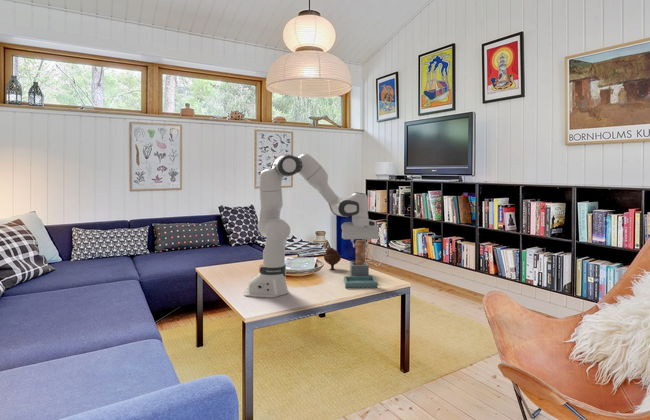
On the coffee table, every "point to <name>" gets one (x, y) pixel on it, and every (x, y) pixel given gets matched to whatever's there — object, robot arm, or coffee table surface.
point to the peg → (360, 252)
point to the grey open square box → (359, 269)
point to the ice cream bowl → (332, 257)
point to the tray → (360, 282)
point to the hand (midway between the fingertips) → (360, 247)
